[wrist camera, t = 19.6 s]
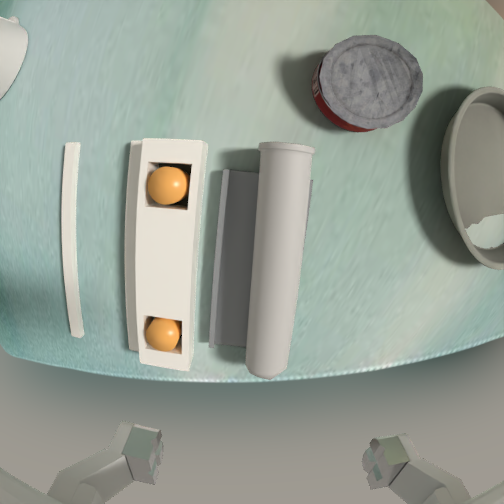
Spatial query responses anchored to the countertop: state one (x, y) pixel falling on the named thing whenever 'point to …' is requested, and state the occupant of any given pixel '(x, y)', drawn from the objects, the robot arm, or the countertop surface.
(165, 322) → the rear plunger
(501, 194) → the cake pan
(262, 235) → the tube
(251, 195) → the tray
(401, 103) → the canned food
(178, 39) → the countertop surface
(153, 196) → the front plunger
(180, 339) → the housing
